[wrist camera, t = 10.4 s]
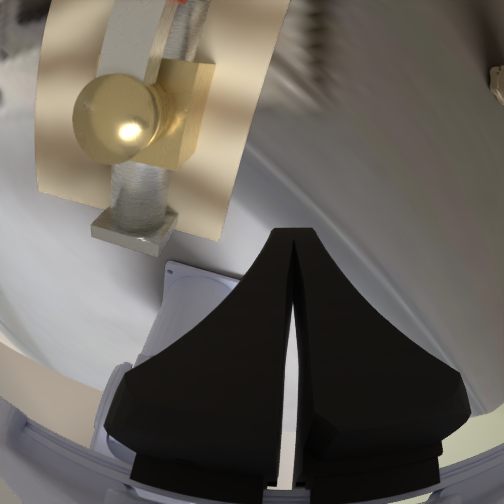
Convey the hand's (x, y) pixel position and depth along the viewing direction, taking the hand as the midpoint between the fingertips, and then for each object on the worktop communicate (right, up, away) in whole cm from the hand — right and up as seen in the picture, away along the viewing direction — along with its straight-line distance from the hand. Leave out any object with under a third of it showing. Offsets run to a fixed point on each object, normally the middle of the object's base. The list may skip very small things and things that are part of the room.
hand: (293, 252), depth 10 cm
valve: (-7, +10, +7) cm, 14 cm away
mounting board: (-10, +12, +5) cm, 16 cm away
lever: (-6, +11, -1) cm, 13 cm away
